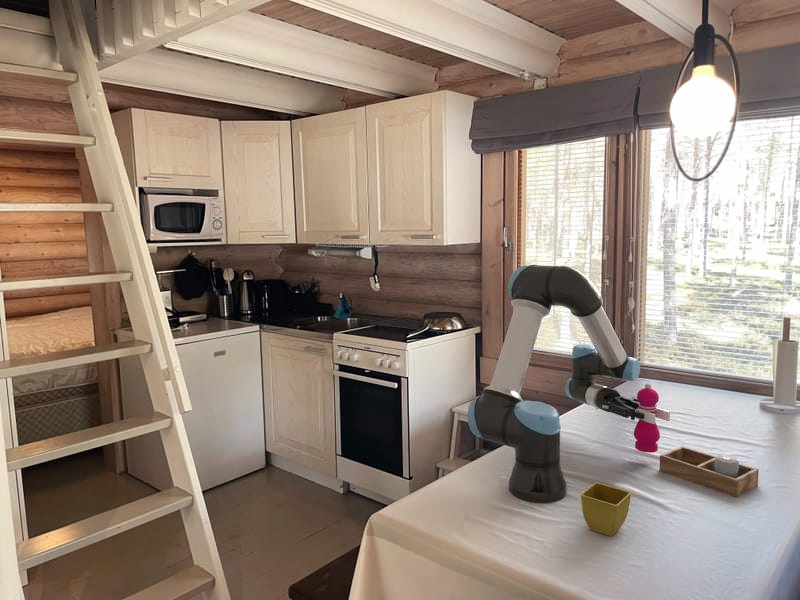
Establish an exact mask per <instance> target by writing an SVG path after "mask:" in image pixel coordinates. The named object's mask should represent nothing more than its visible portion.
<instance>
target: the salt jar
mask: <svg viewBox="0 0 800 600" xmlns="http://www.w3.org/2000/svg"><path fill="white" fill-rule="evenodd" d="M716 457H717V458H715V467H714V472H717V473H720V474H723V475H726V476H729V477H732V478H735V479H736V478H738V472H739V464H740V462H739V460H737V458H736V457H735V456H732V455H728V454H719V455H717V456H716Z"/></svg>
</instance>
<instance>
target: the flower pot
mask: <svg viewBox="0 0 800 600" xmlns="http://www.w3.org/2000/svg"><path fill="white" fill-rule="evenodd" d="M631 496H632V492H631V491H628V490H625V489H622V488H620V487H619V488H618V487H616V486H615V487H614V486H611V485H608V484H604V483H600V482H594V483H593V484H591V485H590V486H589V487H588V488H586V490H584V491H583V492H582V493H581V494H580V498H581V501H580V502H581V509H582V515H583V519H584V521H585V523H586V524H587V527H589V529H590V530H591V531H594V532H597V533H600V534H602V535H606V536H608V537H612V536H614V535H615V534H616V533H617V532H618V531H619V530H620V529H621V528H622V526H623V525H624V523H625V521H626V519H627V517H628V513H629V509H630V504H631Z"/></svg>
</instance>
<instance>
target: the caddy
mask: <svg viewBox="0 0 800 600" xmlns="http://www.w3.org/2000/svg"><path fill="white" fill-rule="evenodd" d="M715 458H717V456H716V455H713V454H709V453H706V452H703V451H699V450H695V449H692V448H689V447H686V446H680V447H676V448H674V449H672V450H670V451H667V452H664V453H662V454H659V469H658V470H659V471H660V472H661V473H665V474H667V475H670V476H673V477H676V478H679V479H682V480H684V481H688V482H691V483H693V484H696V485H699V486H702V487H705V488H708V489H711V490H714V491H716V492H719V493H722V494H725V495H727V496H730V497H733V498H739V497H740V496H742V495H744V494H746V493H748V492H749V491H751V490H753V489H755V488H757V487H758V485H759V469H758V468H755V467H752V466H749V465H745V464H742V463H739V472H738V478H736V479H735V478H732V477H729V476H726V475H723V474H720V473H717V472H714V467H715Z"/></svg>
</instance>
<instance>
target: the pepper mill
mask: <svg viewBox="0 0 800 600" xmlns="http://www.w3.org/2000/svg"><path fill="white" fill-rule="evenodd" d="M636 398H637V400H638V401H639V404H638V405H639V407H638V409H640V410H643V411H646V412H649V413H652V414H655V411H656V410H657V409H656V407H657V406H656V405H655V404H657V403H658V402H659V399H660V398H659V394H658V392H657V391H656V390H655V389H653V388H652V384H650V383H649V382H648V383H645V385H644V388H641V389H639V390H638V392H637V394H636ZM657 408H658V407H657ZM658 427H659V426H658V425H657V423H656V421H655V424H652V423H649V422H646V421H643V420H640V419H638V421H637V423H636V425H635V427H634V429H633V437H634V438H635V440H636V441H635V443H634V448H635V449H636V450H637V451H639V452H643V453H656V452H658V450H659V444H658V443H657V442H659V440H660V438H661V433H660V429H659V428H658Z"/></svg>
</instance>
